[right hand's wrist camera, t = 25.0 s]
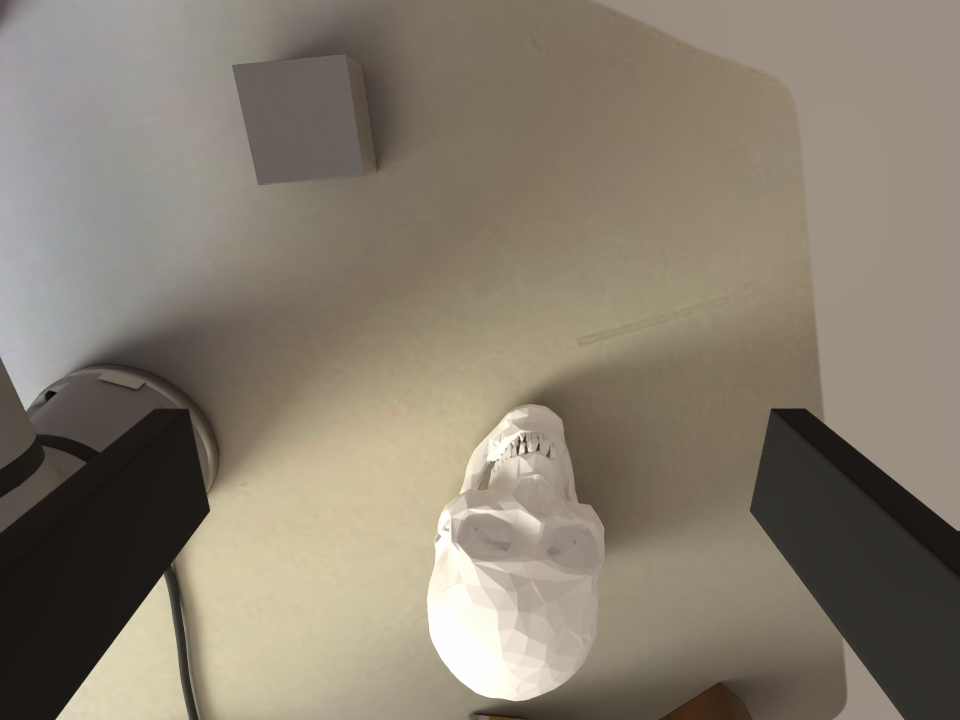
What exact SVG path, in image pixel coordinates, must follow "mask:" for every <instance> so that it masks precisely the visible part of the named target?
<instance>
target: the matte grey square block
mask: <svg viewBox="0 0 960 720" xmlns="http://www.w3.org/2000/svg"><path fill="white" fill-rule="evenodd" d="M232 67H233V71H234V76H235V81H236V85H237V90H238V94H239V99H240V103H241V108H242V112H243V117H244V121H245V126H246V130H247V135H248V140H249V144H250V149H251V153H252V158H253V162H254V167H255V171H256V176H257V180H258V185H268V184H278V183H289V182H300V181H311V180H321V179H332V178H343V177H354V176H364V175H368V174H372V173H376V172H378V171H377V164H376V157H375V150H374V143H373V136H372V129H371V123H370V116H369V109H368V102H367V95H366V88H365V81H364V75H363V68H362V65H361V64H359V63H358V62H356V61H355V60H354V59H352V58H351V57H349V56H348V55H346V54H339V55H329V56H319V57H309V58H299V59H289V60H279V61H269V62H259V63H249V64H239V65H232Z"/></svg>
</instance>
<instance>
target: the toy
mask: <svg viewBox="0 0 960 720" xmlns="http://www.w3.org/2000/svg"><path fill="white" fill-rule="evenodd" d="M469 720H528V719H518V718H507V717H495V716H484V715H473V714H469Z"/></svg>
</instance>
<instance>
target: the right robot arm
mask: <svg viewBox="0 0 960 720" xmlns="http://www.w3.org/2000/svg"><path fill="white" fill-rule="evenodd" d="M217 467H218V450H217V444H216V441H215V437H214V434H213V432H212V429H211V427H210V425H209V423H208V421H207V420H206V418H205V417H204V415H203V414H202V412H201V411H200V410H199V408H198V407H197V406H196V405H195V404H194V403H193V402H192V401H191V400H190V399H189V398H188V397H187V396H186V395H185V394H184V393H183V392H181V391H180V390H179V389H178V388H176V387H175V386H173V385H172V384H170V383H169V382H167V381H165V380H163V379H162V378H160V377H157V376H155V375H153V374H151V373H148V372H145V371H142V370H139V369H135V368H131V367H126V366H117V365H101V366H93V367H88V368H84V369H81V370H78V371H76V372H73V373H71V374H70V375H68V376H66V377H64V378H62V379H61V380H59V381H57V382H55V383H53V384H52V385H50V386H49V387H47V388H46V389H45V390H44V391H43V392H42V393H40V394H39V396H38V397H37V398H36V399H35V401H34V402H33V403H32V404H31V406H30V407H29V408H28V410H27V411H26V412H25V409H24V407H23V405H22V403H21V401H20V399H19V396H18V394H17V392H16V390H15V388H14V386H13V383H12V381H11V379H10V377H9V375H8V373H7V370H6V368H5V366H4V364H3V362H2V360H1V358H0V720H55V719H56V718H57V717H58V715H59V714H60V713H61V711H62V710H63V709H64V707H65V706H66V705H67V703H68V702H69V701H70V699H71V698H72V696H73V695H74V694H75V692H76V691H77V690H78V688H79V687H80V686H81V684H82V683H83V682H84V680H85V679H86V678H87V676H88V675H89V674H90V672H91V671H92V670H93V668H94V667H95V665H96V664H97V663H98V661H99V660H100V659H101V657H102V656H103V655H104V653H105V652H106V651H107V649H108V648H109V647H110V645H111V644H112V643H113V641H114V640H115V638H116V637H117V636H118V634H119V633H120V632H121V630H122V629H123V628H124V626H125V625H126V624H127V622H128V621H129V620H130V618H131V617H132V616H133V614H134V613H135V612H136V610H137V609H138V607H139V606H140V605H141V603H142V602H143V601H144V599H145V598H146V597H147V595H148V594H149V593H150V591H151V590H152V589H153V587H154V586H155V585H156V583H157V582H158V581H159V579H160V578H161V576H162V575H163V574H164V576H165V580H166V583H167V587H168V591H169V596H170V602H171V608H172V615H173V622H174V628H175V634H176V641H177V649H178V659H179V669H180V676H181V683H182V688H183V693H184V698H185V703H186V707H187V711H188V715H189V719H190V720H199V719H198V715H197V711H196V707H195V703H194V698H193V693H192V688H191V683H190V677H189V670H188V661H187V650H186V640H185V633H184V626H183V620H182V613H181V606H180V599H179V593H178V588H177V583H176V579H175V576H174V572H173V569H172V567H171V563H172V562H173V560H174V559H175V558H176V556H177V555H178V554H179V552H180V551H181V549H182V548H183V547H184V545H185V544H186V543H187V541H188V540H189V539H190V537H191V536H192V535H193V533H194V532H195V531H196V529H197V528H198V527H199V525H200V524H201V523H202V521H203V520H204V518H205V517H206V516H207V514H208V513H209V512H210V508H209V503H208V498H207V492H208V491H209V489H210V488H211V486H212V484H213V482H214V479H215V476H216V473H217ZM750 512H751V513H752V514H753V516H754V517H755V518H756V520H757V521H758V523H759V524H760V525H761V527H762V528H763V529H764V531H765V532H766V533H767V535H768V536H769V537H770V539H771V540H772V541H773V543H774V544H775V545H776V547H777V548H778V549H779V551H780V552H781V554H782V555H783V556H784V558H785V559H786V560H787V562H788V563H789V564H790V566H791V567H792V568H793V570H794V571H795V572H796V574H797V575H798V576H799V578H800V579H801V581H802V582H803V583H804V585H805V586H806V587H807V589H808V590H809V591H810V593H811V594H812V595H813V597H814V598H815V599H816V601H817V602H818V603H819V605H820V606H821V607H822V609H823V610H824V612H825V613H826V614H827V616H828V617H829V618H830V620H831V621H832V622H833V624H834V625H835V626H836V628H837V629H838V630H839V632H840V633H841V634H842V636H843V637H844V639H845V640H846V641H847V643H848V644H849V645H850V647H851V648H852V649H853V651H854V652H855V653H856V655H857V656H858V657H859V659H860V660H861V661H862V663H863V664H864V665H865V667H866V668H867V670H868V671H869V672H870V674H871V675H872V676H873V678H874V679H875V680H876V682H877V683H878V684H879V686H880V687H881V688H882V690H883V691H884V692H885V694H886V695H887V696H888V698H889V699H890V701H891V702H892V703H893V705H894V706H895V707H896V709H897V710H898V711H899V713H900V714H901V715H902V717H903V718H904V719H905V720H960V531H957V530H955V529H954V528H953V527H952V526H950V525H949V524H948V523H947V522H945V521H944V520H943V519H942V518H941V517H939V516H938V515H937V514H936V513H934V512H933V511H932V510H931V509H929V508H928V507H927V506H926V505H924V504H923V503H922V502H921V501H919V500H918V499H917V498H916V497H914V496H913V495H912V494H911V493H909V492H908V491H907V490H906V489H904V488H903V487H902V486H901V485H900V484H898V483H897V482H896V481H895V480H893V479H892V478H891V477H890V476H888V475H887V474H886V473H885V472H883V471H882V470H881V469H880V468H878V467H877V466H876V465H875V464H873V463H872V462H871V461H870V460H868V459H867V458H866V457H865V456H863V455H862V454H861V453H860V452H858V451H857V450H856V449H855V448H854V447H852V446H851V445H850V444H849V443H847V442H846V441H845V440H844V439H842V438H841V437H840V436H839V435H837V434H836V433H835V432H834V431H832V430H831V429H830V428H829V427H827V426H826V425H825V424H824V423H822V422H821V421H820V420H819V419H817V418H816V417H815V416H814V415H813V414H811V413H810V412H809V411H808V410H806V409H771V412H770V417H769V422H768V426H767V431H766V436H765V441H764V446H763V450H762V455H761V460H760V465H759V469H758V474H757V479H756V484H755V489H754V493H753V498H752V503H751V508H750Z"/></svg>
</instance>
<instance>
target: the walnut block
mask: <svg viewBox="0 0 960 720" xmlns="http://www.w3.org/2000/svg"><path fill="white" fill-rule="evenodd" d="M661 720H752V718H751V716H750V714H749V712H748V710H747V707H746V705H745V703H743V702H742V701H741V700H740V699H739V698H738V697H736V696H735V695H734V694H733V693H732V692H731V691H729V690H728V689H727V688H726V687H725V686H724V685H722V684H721V683H718V684H717V685H715V686H713V687H712V688H710V689H709V690H707V691H705V692H704V693H702V694H701V695H699V696H697V697H696V698H694V699H693V700H691V701H690V702H688V703H686V704H685V705H683V706H682V707H680V708H678V709H677V710H675V711H674V712H672V713H670V714H669V715H667V716H666V717H664V718H663V719H661Z"/></svg>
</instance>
